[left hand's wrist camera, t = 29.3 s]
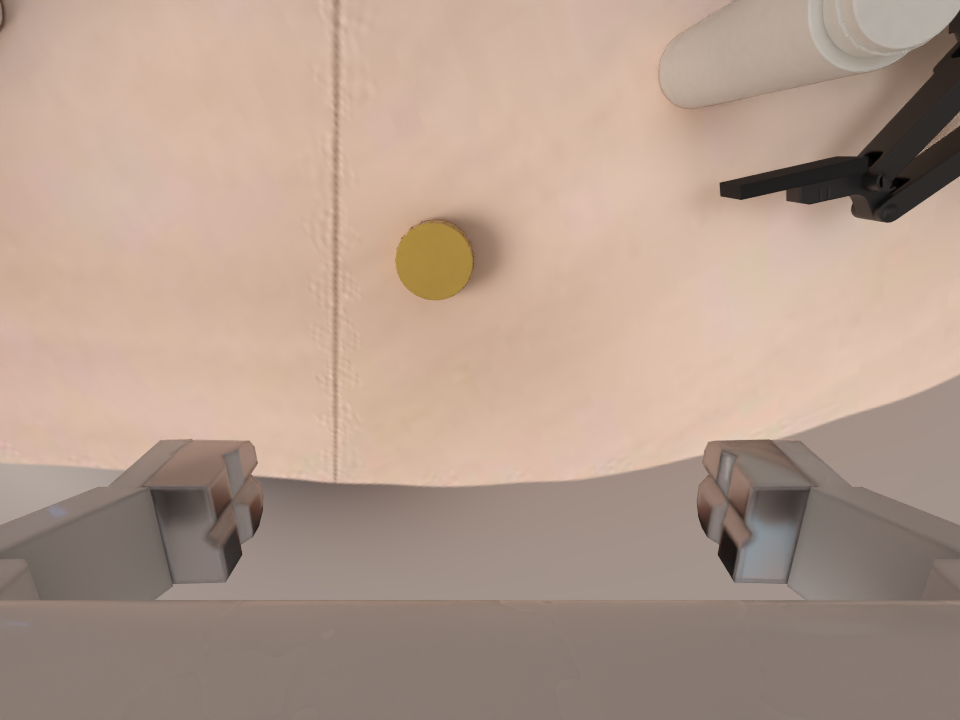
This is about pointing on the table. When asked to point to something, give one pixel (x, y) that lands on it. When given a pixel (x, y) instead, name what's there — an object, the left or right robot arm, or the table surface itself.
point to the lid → (434, 259)
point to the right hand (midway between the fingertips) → (720, 54)
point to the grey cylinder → (793, 45)
